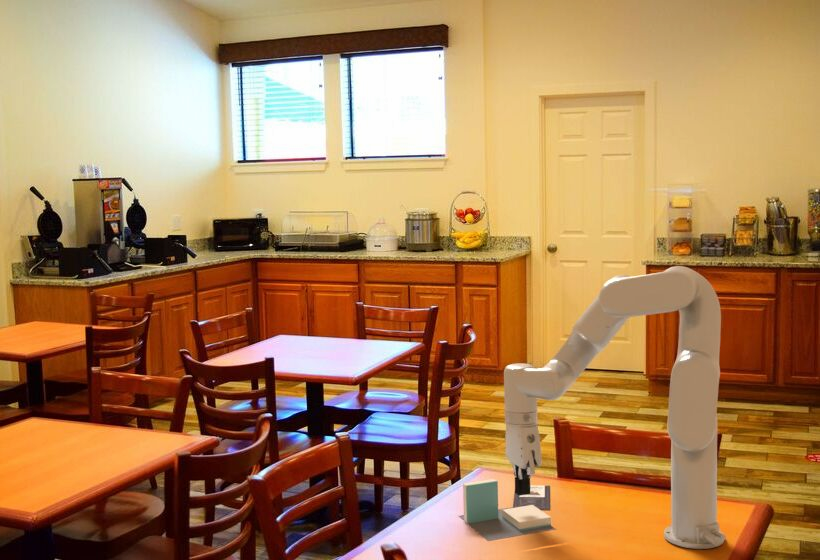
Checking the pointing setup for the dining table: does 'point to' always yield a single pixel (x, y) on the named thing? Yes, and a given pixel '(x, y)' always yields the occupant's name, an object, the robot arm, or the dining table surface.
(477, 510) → the tile
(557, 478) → the dining table surface
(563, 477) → the dining table surface
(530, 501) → the chocolate bar
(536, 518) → the tile
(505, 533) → the mat
